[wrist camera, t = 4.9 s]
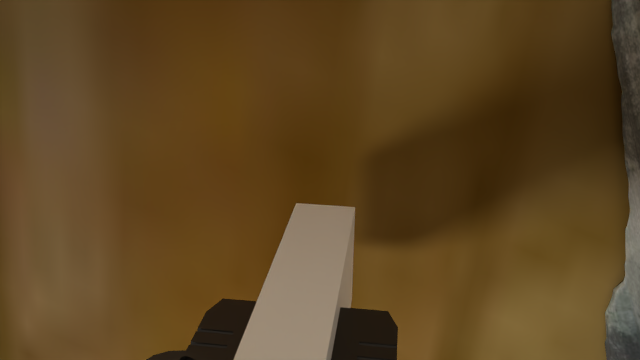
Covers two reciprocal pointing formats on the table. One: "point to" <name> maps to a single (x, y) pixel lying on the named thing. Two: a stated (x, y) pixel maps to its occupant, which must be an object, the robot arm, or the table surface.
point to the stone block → (636, 83)
